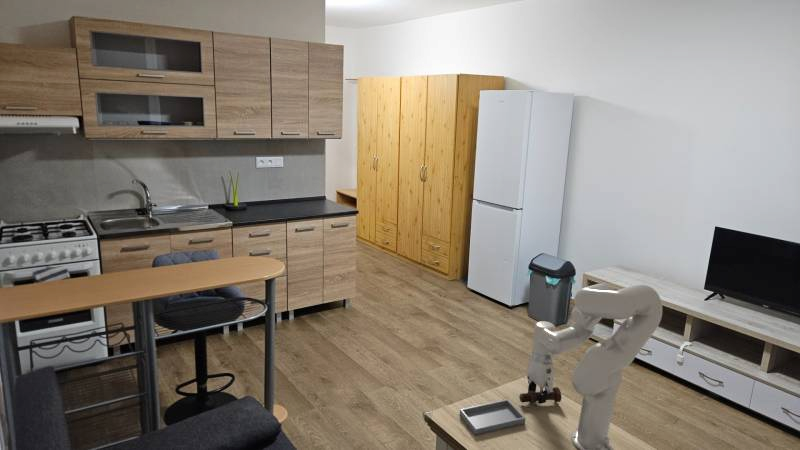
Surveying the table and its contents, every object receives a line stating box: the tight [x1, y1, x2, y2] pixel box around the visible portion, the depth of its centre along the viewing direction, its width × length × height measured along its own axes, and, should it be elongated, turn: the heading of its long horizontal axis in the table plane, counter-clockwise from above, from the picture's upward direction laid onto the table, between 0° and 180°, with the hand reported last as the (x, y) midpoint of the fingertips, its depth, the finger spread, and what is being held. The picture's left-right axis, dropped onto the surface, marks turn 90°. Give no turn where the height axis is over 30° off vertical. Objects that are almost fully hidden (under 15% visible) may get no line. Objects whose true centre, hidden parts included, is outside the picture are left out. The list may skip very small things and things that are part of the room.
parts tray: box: [459, 398, 526, 436], centre depth 186 cm, size 11×20×2 cm, turn 112°
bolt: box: [518, 386, 563, 405], centre depth 197 cm, size 6×5×15 cm
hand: (536, 397), depth 197 cm, fingers closed on bolt, 5 cm apart
